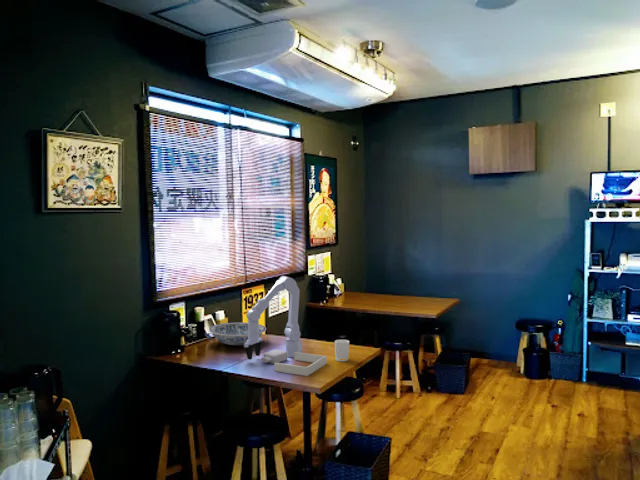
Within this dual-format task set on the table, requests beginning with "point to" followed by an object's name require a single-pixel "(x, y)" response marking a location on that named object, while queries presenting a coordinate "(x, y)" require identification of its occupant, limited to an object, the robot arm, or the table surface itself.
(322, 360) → the box
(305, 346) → the table surface
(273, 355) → the charger
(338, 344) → the white cup
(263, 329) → the ceramic bowl
